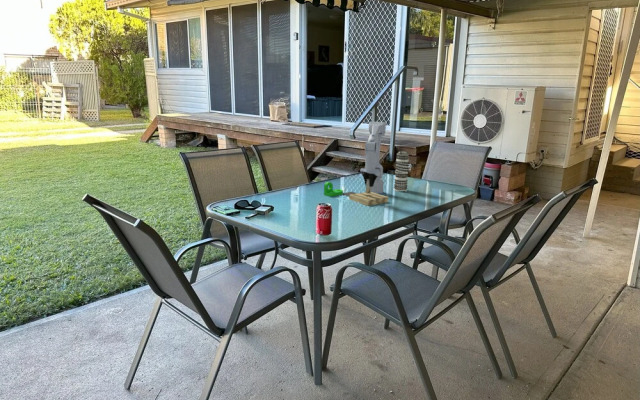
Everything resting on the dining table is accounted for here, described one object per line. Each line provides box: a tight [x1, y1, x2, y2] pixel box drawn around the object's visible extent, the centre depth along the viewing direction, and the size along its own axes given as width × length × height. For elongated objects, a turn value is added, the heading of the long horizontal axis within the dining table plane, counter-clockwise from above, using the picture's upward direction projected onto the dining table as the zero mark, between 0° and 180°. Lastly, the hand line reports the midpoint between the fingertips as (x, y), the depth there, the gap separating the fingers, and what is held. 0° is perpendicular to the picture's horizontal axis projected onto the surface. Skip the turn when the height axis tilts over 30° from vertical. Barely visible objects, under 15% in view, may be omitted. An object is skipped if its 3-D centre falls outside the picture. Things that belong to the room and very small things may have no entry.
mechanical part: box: [323, 181, 344, 198], centre depth 262 cm, size 12×6×8 cm, turn 131°
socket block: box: [348, 191, 389, 206], centre depth 250 cm, size 16×16×3 cm
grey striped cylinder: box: [393, 150, 410, 192], centre depth 277 cm, size 9×9×25 cm
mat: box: [342, 191, 357, 198], centre depth 265 cm, size 10×10×1 cm
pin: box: [365, 178, 371, 193], centre depth 248 cm, size 3×3×8 cm
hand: (369, 186), depth 249 cm, fingers closed on pin, 3 cm apart
